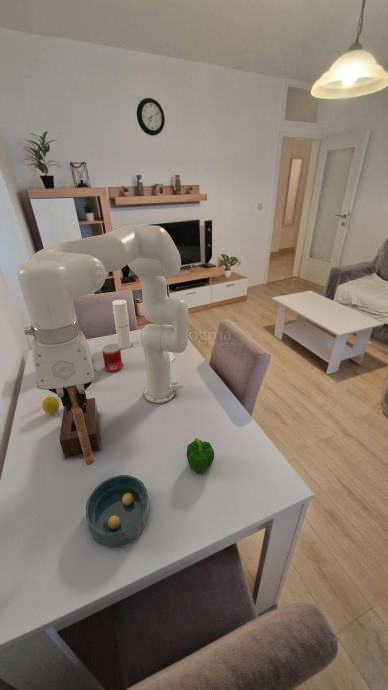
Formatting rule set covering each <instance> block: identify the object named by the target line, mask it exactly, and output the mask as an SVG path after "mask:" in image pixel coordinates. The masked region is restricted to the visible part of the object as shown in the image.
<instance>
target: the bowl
mask: <svg viewBox="0 0 388 690" xmlns="http://www.w3.org/2000/svg"><path fill="white" fill-rule="evenodd" d="M126 493H131V494H132V495H133V497H134V500H133V502H132V504H131V505H128V506H126V505H124V504H123V502H122V498H123V496H124V495H125V494H126ZM148 494H149V493H148V490H147V488H146V486H145V485H144V482H143V481H141V480H140V479H138V477H135V476H132V475H129V474H119V475H115V476H111V477H109V478H107V479H105V480H103V481H101V483H99V484H98V485H97V486H96V487H95V488H94V489H93V490H92V491H91V494H90V495H89V496H88V499H87V502H86V504H85V519H86V522H87V526H88V529H89V531H90V534H91V536H92V538H93V539H94V540H95V541H96V542H97V544H99V545H102V546H104V547H106V548H118V547H122V546H124V545H128V544H129V543H130V542H132V541H133V540H135V539H137V537H139V535H140V534H141V533H142V532H143V530H144V529H145V527H146V525H147V522H148V520H149V516H150V502H149V495H148ZM114 515H116V516H118V517H119V519H120V524H119V526H118V528H116V529H114V530H112V529H110V528H109V527H108V520H109V518H110V517H111V516H114Z"/></svg>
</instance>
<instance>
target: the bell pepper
mask: <svg viewBox="0 0 388 690" xmlns="http://www.w3.org/2000/svg"><path fill="white" fill-rule="evenodd" d="M186 458H187V464H188V465H189V467H190V470H191V471H192V472H194V473H195V474H204V473H206V471H207V470H209V468H210V467H211V466H212V464H213V463H214V459H215V450H214V448H213V446H212V444H211V443H210V442H209V441H203V440H201V439H199V438H197V437H195V438H194V440H193V441H191V442H190V443H188V444H187V447H186Z"/></svg>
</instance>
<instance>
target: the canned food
mask: <svg viewBox="0 0 388 690" xmlns="http://www.w3.org/2000/svg"><path fill="white" fill-rule="evenodd" d="M101 351H102V358H103V361H104V362H103V363H104V368H105V371H107V372H109V373H115V372H119V371H120V370H122V369H123V361H122V352H121V348H120V346H119V345H118V343H117V344H116V343H110V344H106V345H104V346H103V347H102V349H101Z"/></svg>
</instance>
